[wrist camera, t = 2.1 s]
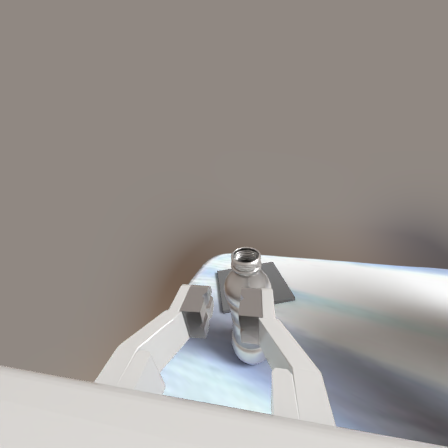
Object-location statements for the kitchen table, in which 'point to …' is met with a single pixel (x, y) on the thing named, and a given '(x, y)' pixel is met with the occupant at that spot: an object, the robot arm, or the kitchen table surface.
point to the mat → (277, 282)
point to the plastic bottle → (240, 278)
